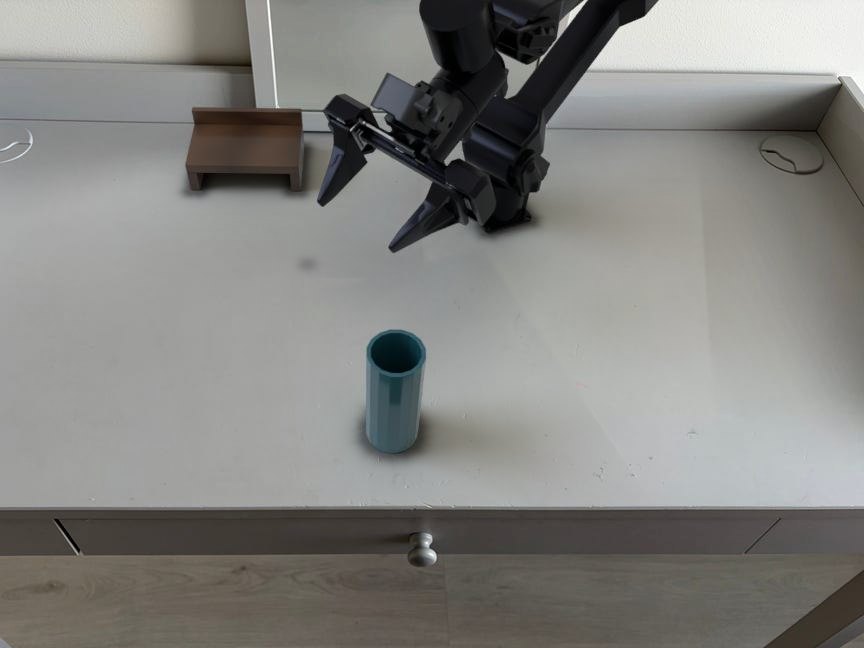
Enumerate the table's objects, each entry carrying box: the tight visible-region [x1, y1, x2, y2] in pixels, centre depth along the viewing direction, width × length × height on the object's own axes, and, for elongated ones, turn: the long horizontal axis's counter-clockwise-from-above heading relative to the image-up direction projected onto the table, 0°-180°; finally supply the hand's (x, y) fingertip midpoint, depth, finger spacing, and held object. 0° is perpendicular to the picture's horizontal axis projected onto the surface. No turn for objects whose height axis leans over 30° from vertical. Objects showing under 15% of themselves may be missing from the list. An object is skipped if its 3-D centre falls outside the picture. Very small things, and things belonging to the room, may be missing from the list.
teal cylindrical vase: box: [365, 329, 427, 454], centre depth 73 cm, size 5×5×13 cm
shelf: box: [184, 106, 305, 192], centre depth 100 cm, size 14×9×6 cm, turn 90°
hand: (354, 226), depth 74 cm, fingers open, 9 cm apart
